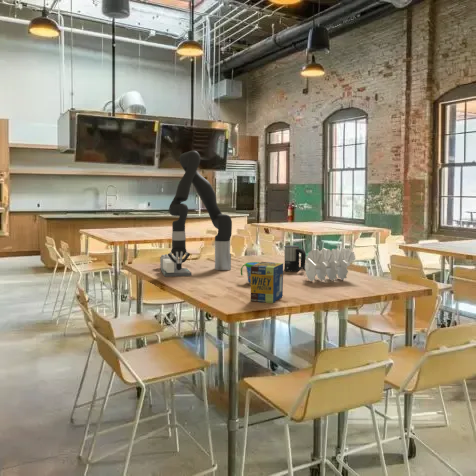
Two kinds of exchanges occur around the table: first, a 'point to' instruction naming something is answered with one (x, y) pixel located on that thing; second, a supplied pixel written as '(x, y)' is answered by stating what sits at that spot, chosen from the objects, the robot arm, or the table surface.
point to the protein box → (266, 282)
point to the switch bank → (177, 272)
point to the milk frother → (294, 258)
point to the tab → (170, 267)
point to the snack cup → (249, 269)
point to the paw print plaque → (166, 258)
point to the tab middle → (165, 263)
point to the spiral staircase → (328, 263)
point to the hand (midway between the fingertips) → (178, 269)
